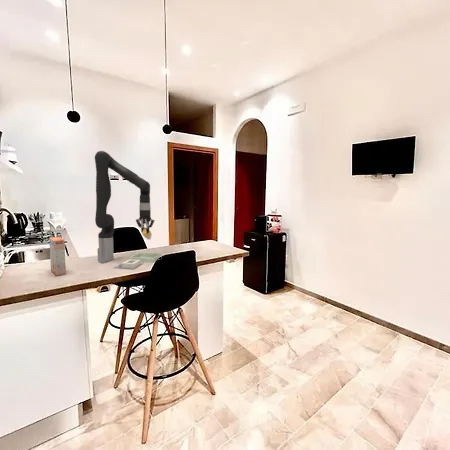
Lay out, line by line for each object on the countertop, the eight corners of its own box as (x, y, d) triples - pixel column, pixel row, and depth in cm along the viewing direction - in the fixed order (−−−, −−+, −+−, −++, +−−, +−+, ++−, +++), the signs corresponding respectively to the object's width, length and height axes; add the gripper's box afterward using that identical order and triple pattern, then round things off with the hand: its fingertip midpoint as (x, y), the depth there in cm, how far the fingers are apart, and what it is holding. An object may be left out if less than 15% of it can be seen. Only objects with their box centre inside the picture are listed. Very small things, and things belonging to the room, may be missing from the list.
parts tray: (128, 262, 184) (128, 257, 183) (139, 256, 199) (139, 252, 199) (152, 263, 181) (152, 258, 181) (161, 258, 197) (161, 253, 196)
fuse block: (112, 269, 166) (112, 263, 165) (124, 263, 180) (124, 258, 179) (133, 271, 164) (133, 264, 164) (143, 265, 178) (143, 259, 177)
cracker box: (66, 274, 155) (64, 239, 152) (54, 276, 151) (52, 240, 148) (61, 268, 165) (60, 236, 162) (50, 270, 161) (48, 237, 158)
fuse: (146, 239, 194) (141, 233, 186) (148, 233, 197) (143, 227, 188) (150, 239, 194) (145, 233, 185) (152, 233, 196) (147, 227, 188)
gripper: (133, 209, 183) (133, 233, 185) (152, 209, 181) (152, 234, 183) (138, 208, 190) (138, 232, 192) (156, 209, 188) (156, 233, 190)
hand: (145, 233), depth 188 cm, fingers closed on fuse, 2 cm apart
